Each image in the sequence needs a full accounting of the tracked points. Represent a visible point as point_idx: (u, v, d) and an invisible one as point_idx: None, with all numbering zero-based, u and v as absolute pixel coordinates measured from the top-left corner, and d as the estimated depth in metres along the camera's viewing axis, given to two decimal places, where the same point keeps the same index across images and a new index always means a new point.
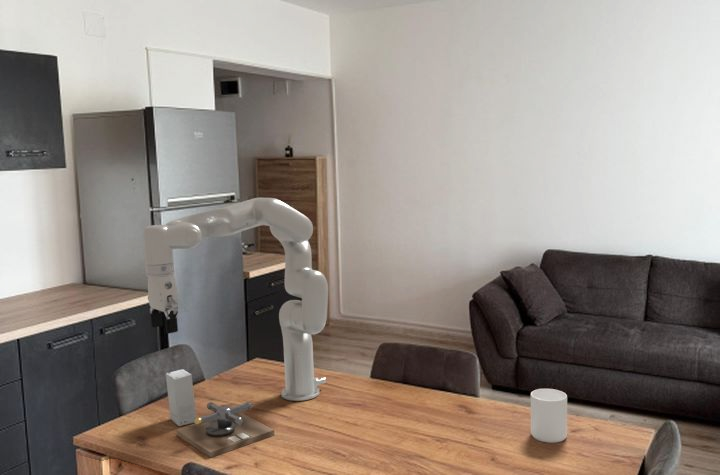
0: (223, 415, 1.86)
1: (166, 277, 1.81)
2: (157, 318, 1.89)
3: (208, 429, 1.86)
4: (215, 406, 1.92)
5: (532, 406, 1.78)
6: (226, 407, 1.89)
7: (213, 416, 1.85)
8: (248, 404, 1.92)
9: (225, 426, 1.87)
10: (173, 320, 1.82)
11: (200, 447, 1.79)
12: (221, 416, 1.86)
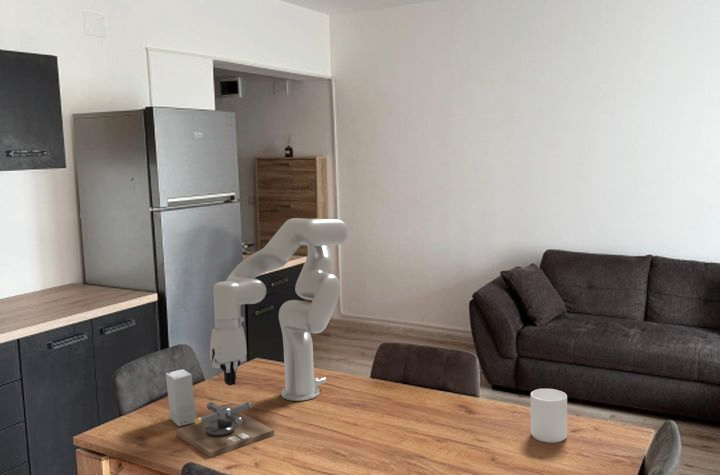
0: (223, 415, 1.86)
1: None
2: None
3: (208, 429, 1.86)
4: (215, 406, 1.92)
5: (532, 406, 1.78)
6: (226, 407, 1.89)
7: (213, 416, 1.85)
8: (248, 404, 1.92)
9: (225, 426, 1.87)
10: None
11: (200, 447, 1.79)
12: (221, 416, 1.86)
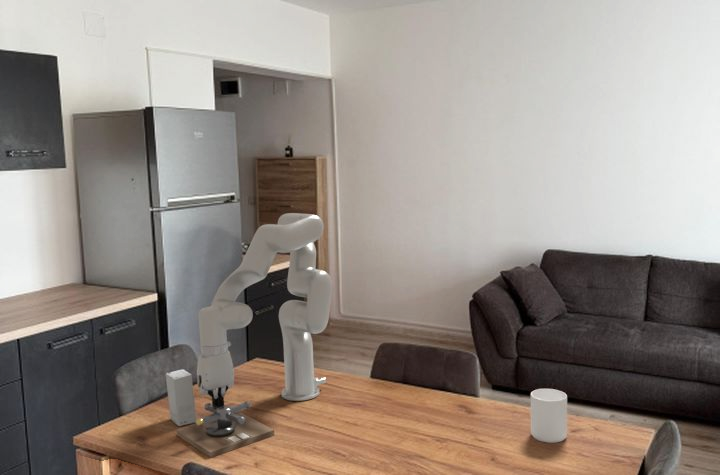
0: (224, 415, 1.86)
1: None
2: None
3: (209, 430, 1.86)
4: (214, 406, 1.91)
5: (532, 406, 1.78)
6: (226, 407, 1.89)
7: (214, 416, 1.85)
8: (247, 403, 1.93)
9: (226, 426, 1.87)
10: None
11: (200, 447, 1.79)
12: (222, 416, 1.86)
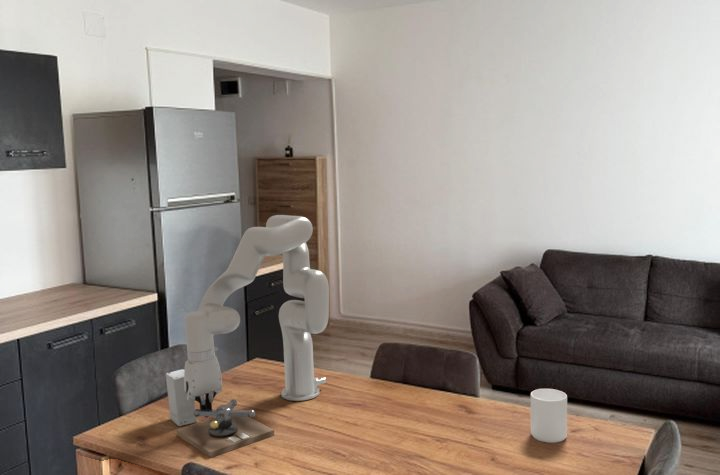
0: (228, 414, 1.87)
1: None
2: None
3: (216, 432, 1.84)
4: (206, 410, 1.89)
5: (532, 406, 1.78)
6: (224, 406, 1.89)
7: (221, 417, 1.84)
8: (235, 401, 1.95)
9: (230, 425, 1.87)
10: None
11: (200, 447, 1.79)
12: (226, 415, 1.86)
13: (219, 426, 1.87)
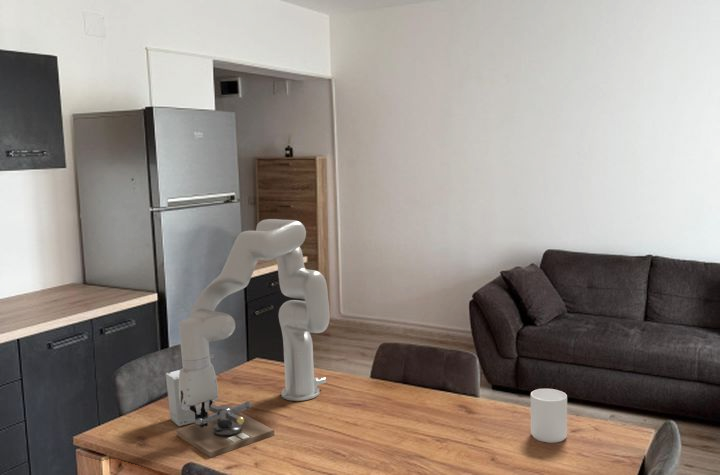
0: (231, 412, 1.88)
1: (211, 364, 1.86)
2: None
3: (232, 430, 1.85)
4: (208, 416, 1.84)
5: (532, 406, 1.78)
6: (221, 407, 1.88)
7: None
8: None
9: (231, 422, 1.89)
10: None
11: (200, 447, 1.79)
12: None
13: (225, 426, 1.87)
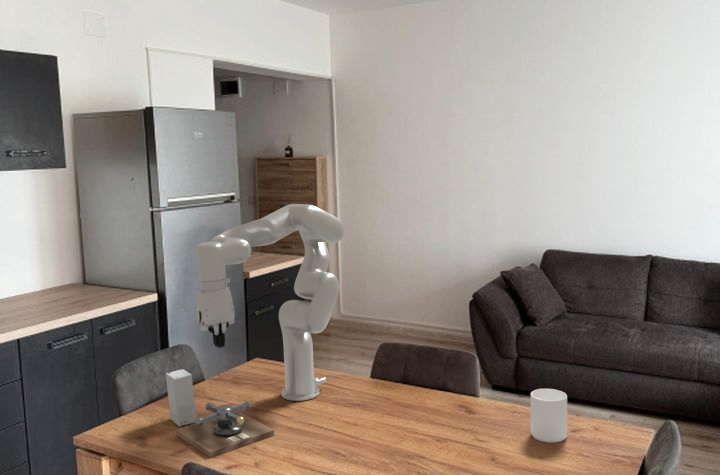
0: (231, 412, 1.88)
1: None
2: None
3: (232, 430, 1.85)
4: (208, 416, 1.84)
5: (532, 406, 1.78)
6: (221, 407, 1.88)
7: None
8: (211, 403, 1.94)
9: (231, 422, 1.89)
10: None
11: (200, 447, 1.79)
12: None
13: (225, 426, 1.87)
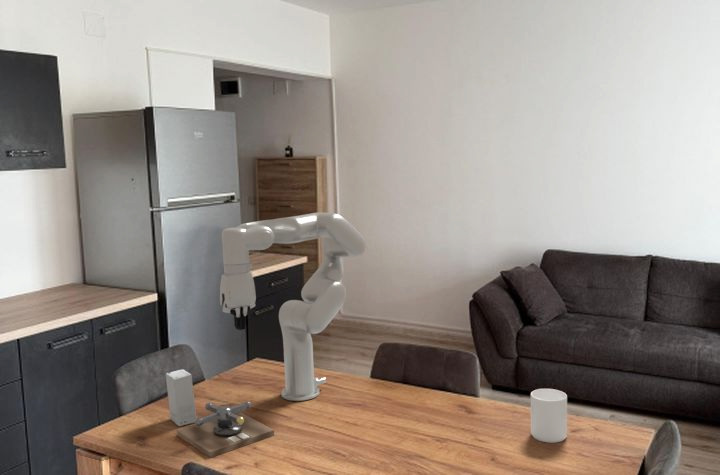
0: (231, 412, 1.88)
1: None
2: None
3: (232, 430, 1.85)
4: (208, 416, 1.84)
5: (532, 406, 1.78)
6: (221, 407, 1.88)
7: None
8: (211, 403, 1.94)
9: (231, 422, 1.89)
10: None
11: (200, 447, 1.79)
12: None
13: (225, 426, 1.87)
